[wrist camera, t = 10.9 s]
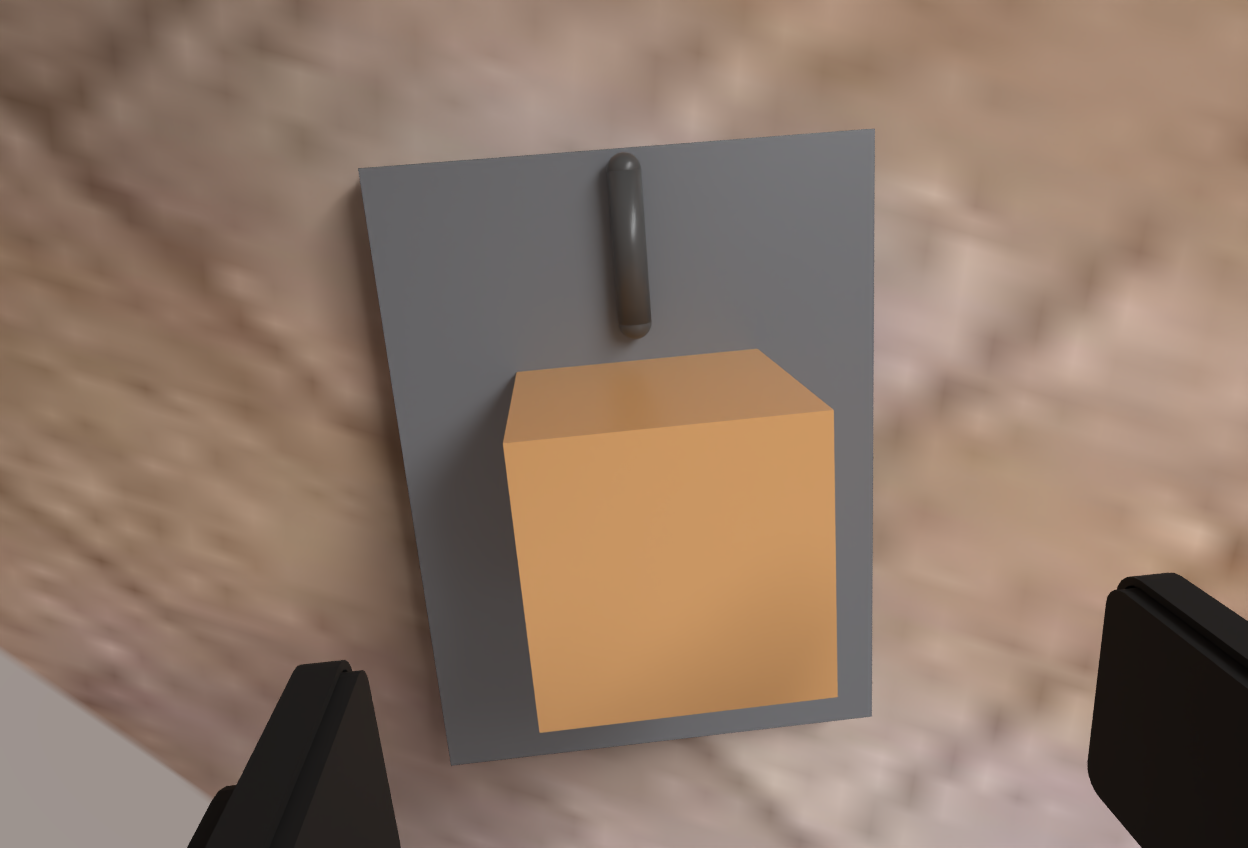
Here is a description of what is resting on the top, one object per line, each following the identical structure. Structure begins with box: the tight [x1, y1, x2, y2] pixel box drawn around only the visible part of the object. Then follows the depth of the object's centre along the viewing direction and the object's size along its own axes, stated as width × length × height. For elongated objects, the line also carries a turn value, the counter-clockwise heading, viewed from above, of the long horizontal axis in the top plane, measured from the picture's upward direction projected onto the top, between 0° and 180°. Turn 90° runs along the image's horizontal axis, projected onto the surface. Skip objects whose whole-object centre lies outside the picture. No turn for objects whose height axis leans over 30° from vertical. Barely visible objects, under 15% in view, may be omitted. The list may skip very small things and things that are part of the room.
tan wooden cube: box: [503, 349, 838, 733], centre depth 19 cm, size 6×6×6 cm
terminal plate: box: [358, 129, 875, 766], centre depth 21 cm, size 16×12×6 cm
